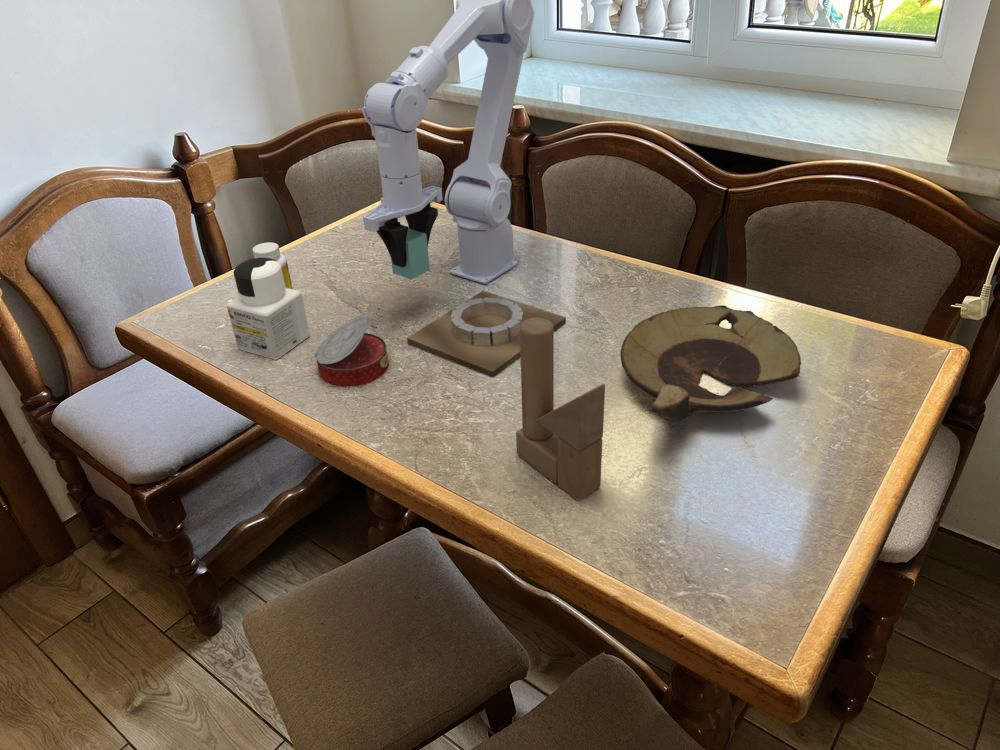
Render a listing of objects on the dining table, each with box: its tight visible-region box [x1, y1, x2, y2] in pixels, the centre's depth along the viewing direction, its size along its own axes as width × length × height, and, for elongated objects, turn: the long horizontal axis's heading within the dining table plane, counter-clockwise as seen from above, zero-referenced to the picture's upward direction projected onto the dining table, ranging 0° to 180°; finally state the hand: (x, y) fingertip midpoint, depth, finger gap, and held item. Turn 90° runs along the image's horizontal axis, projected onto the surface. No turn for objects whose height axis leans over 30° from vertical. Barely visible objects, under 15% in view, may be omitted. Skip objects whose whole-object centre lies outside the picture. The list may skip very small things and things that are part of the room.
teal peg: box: [390, 229, 431, 281], centre depth 117 cm, size 4×4×6 cm
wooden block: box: [515, 318, 606, 501], centre depth 84 cm, size 4×11×18 cm, turn 39°
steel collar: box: [450, 298, 523, 346], centre depth 114 cm, size 10×10×2 cm
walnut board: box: [406, 289, 567, 379], centre depth 115 cm, size 18×16×1 cm
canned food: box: [314, 311, 390, 388], centre depth 107 cm, size 11×10×10 cm
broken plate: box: [620, 304, 802, 422], centre depth 100 cm, size 22×30×8 cm
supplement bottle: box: [252, 242, 294, 290], centre depth 123 cm, size 6×6×10 cm
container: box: [226, 257, 311, 361], centre depth 112 cm, size 8×8×13 cm
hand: (410, 259), depth 117 cm, fingers closed on teal peg, 4 cm apart
